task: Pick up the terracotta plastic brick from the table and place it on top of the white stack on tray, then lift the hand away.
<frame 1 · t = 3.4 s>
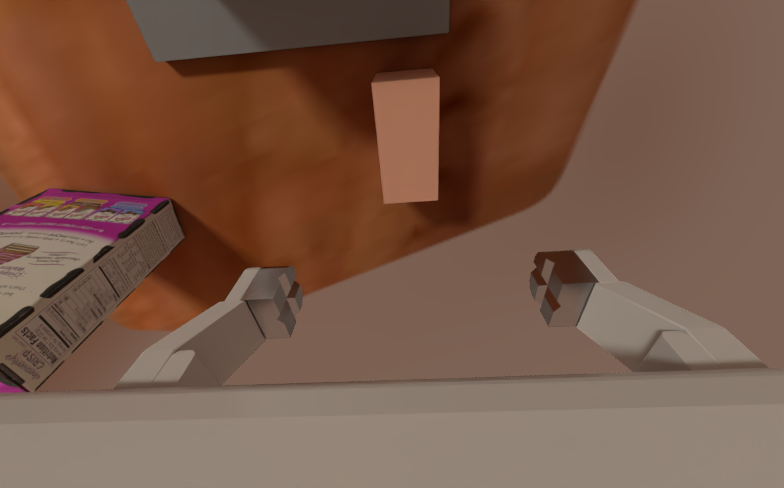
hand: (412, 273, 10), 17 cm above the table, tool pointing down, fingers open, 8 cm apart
candy bar box: (125, 213, 29), on the table
terracotta brick: (406, 127, 24), on the table
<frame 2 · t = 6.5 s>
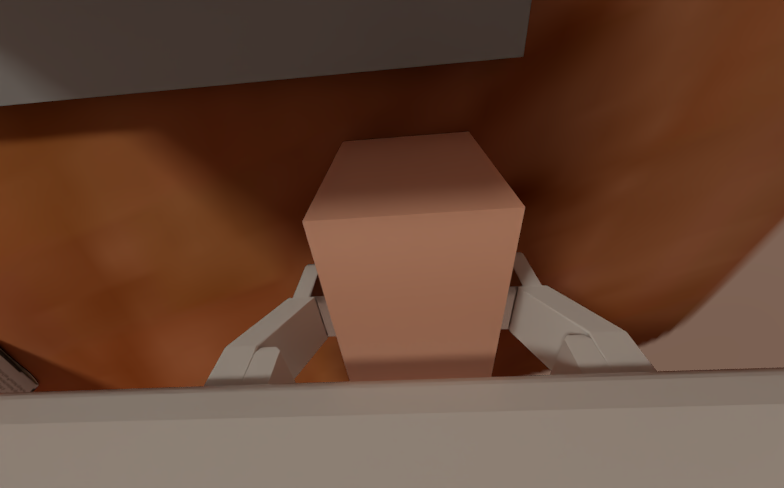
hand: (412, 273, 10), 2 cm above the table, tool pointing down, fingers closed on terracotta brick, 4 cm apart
terracotta brick: (410, 240, 12), on the table, touching gripper
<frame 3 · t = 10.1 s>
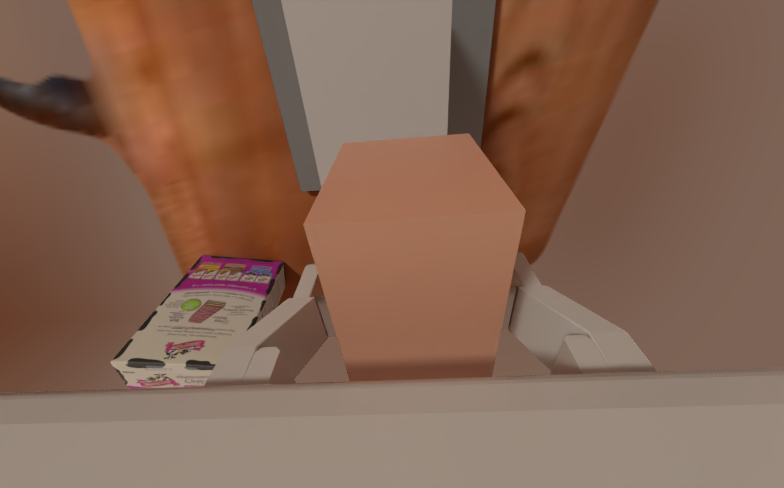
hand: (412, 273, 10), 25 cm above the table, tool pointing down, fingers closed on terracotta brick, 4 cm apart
candy bar box: (247, 270, 42), on the table
terracotta brick: (410, 241, 12), point 23 cm above the table, touching gripper
white stack on tray: (380, 85, 29), on the table
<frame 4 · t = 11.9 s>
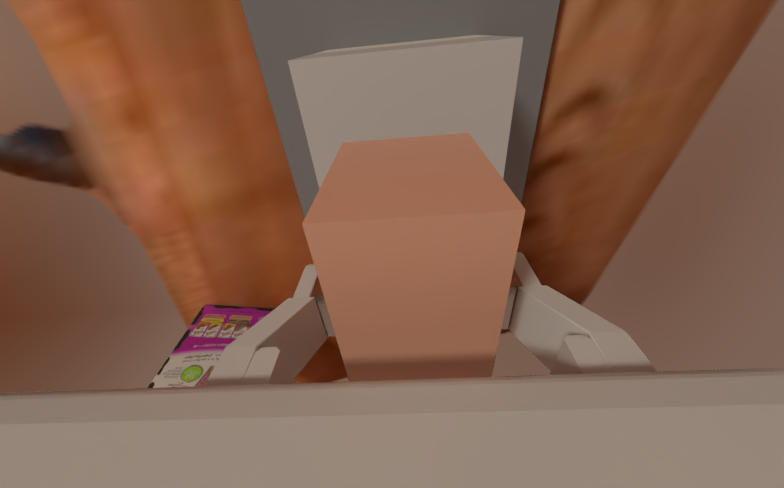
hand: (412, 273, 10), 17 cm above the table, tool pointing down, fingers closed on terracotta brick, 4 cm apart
candy bar box: (254, 318, 38), on the table
terracotta brick: (410, 241, 12), point 15 cm above the table, touching gripper
white stack on tray: (406, 130, 24), on the table
when the fingers open (13 cm above the table, at t = 13.5 s): terracotta brick drops 1 cm, resting on white stack on tray.
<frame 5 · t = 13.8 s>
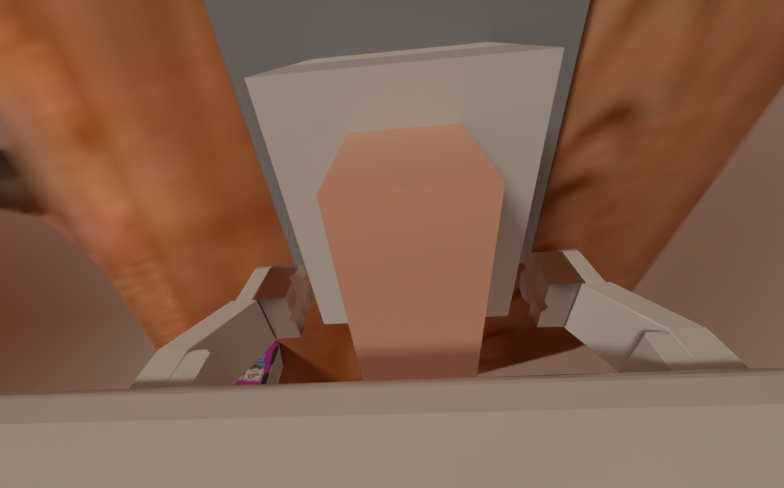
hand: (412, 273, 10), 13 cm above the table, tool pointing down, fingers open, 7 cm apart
candy bar box: (237, 350, 35), on the table
terracotta brick: (409, 225, 13), point 10 cm above the table, touching white stack on tray
white stack on tray: (404, 151, 21), on the table
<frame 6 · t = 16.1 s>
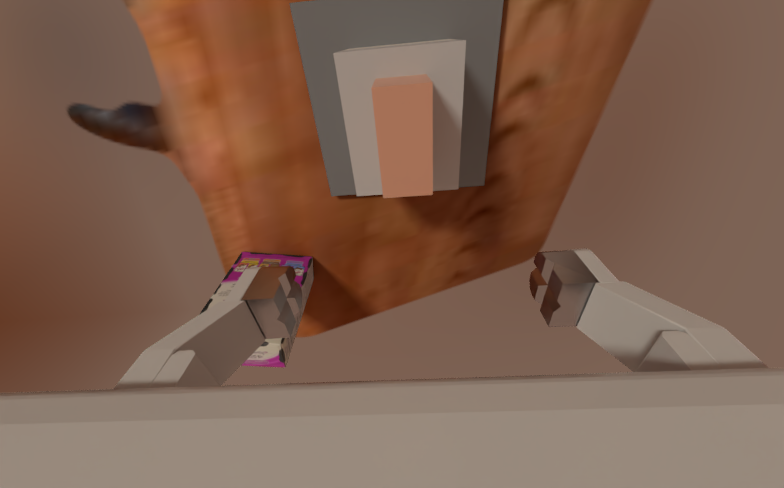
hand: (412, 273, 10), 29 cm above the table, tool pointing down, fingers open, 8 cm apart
candy bar box: (280, 264, 48), on the table
terracotta brick: (403, 128, 26), point 10 cm above the table, touching white stack on tray
white stack on tray: (401, 106, 34), on the table
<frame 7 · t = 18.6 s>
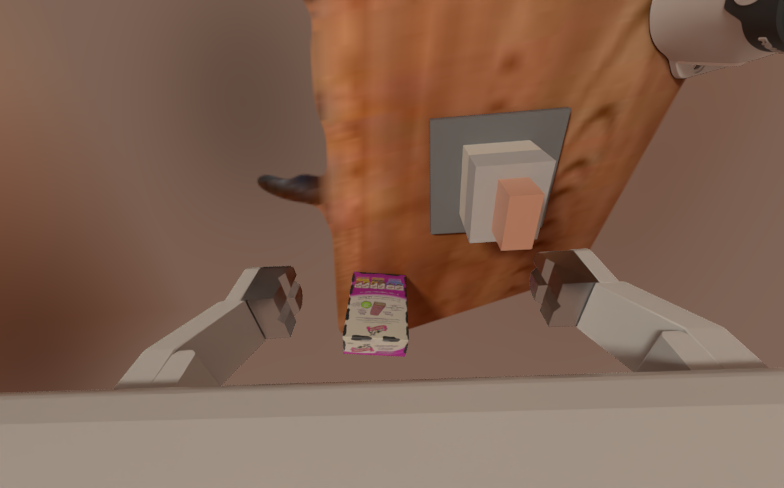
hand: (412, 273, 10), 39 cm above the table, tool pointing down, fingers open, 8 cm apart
candy bar box: (379, 280, 63), on the table
terracotta brick: (509, 205, 41), point 10 cm above the table, touching white stack on tray
white stack on tray: (490, 177, 49), on the table
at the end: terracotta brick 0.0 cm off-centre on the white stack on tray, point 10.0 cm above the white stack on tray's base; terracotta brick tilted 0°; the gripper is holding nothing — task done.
